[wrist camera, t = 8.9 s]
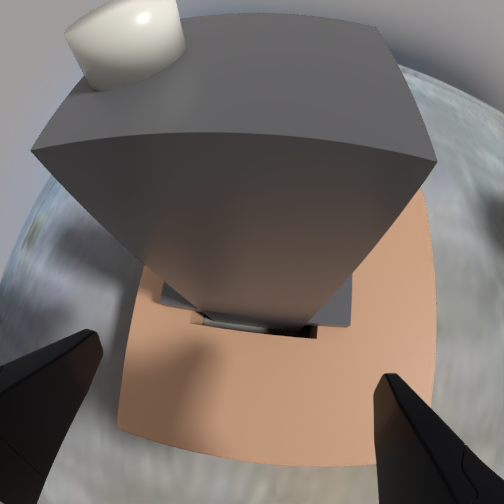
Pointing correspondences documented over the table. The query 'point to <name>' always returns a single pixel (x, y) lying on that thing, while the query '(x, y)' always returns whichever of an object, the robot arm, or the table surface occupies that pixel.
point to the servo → (239, 154)
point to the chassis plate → (286, 365)
